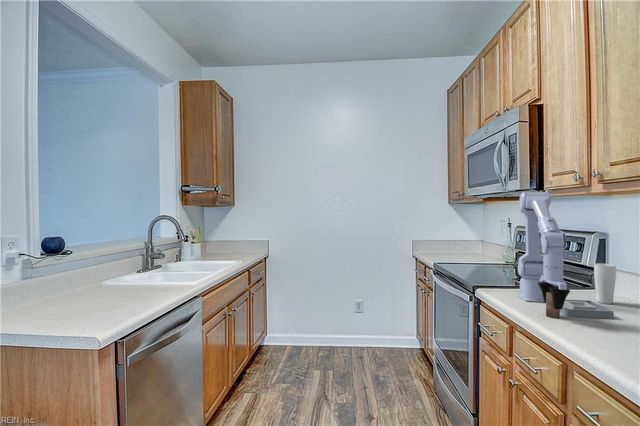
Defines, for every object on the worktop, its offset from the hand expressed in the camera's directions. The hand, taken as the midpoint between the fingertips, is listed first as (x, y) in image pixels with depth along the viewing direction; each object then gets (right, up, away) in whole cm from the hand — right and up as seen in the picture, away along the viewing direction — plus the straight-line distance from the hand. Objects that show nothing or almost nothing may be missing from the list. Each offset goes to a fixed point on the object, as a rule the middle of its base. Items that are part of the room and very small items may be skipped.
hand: (552, 305), depth 121 cm
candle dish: (+13, -4, +6) cm, 15 cm away
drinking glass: (+32, -4, +17) cm, 36 cm away
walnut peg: (0, -4, 0) cm, 4 cm away
